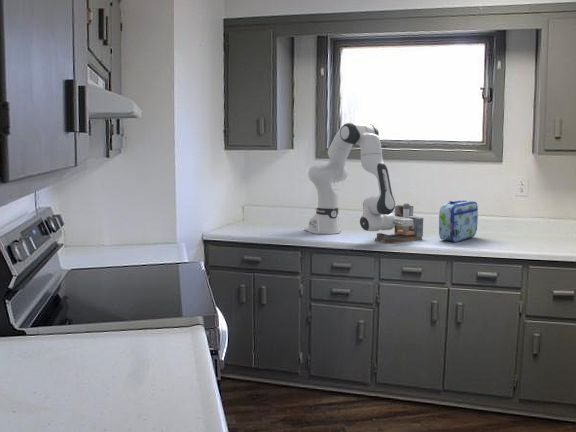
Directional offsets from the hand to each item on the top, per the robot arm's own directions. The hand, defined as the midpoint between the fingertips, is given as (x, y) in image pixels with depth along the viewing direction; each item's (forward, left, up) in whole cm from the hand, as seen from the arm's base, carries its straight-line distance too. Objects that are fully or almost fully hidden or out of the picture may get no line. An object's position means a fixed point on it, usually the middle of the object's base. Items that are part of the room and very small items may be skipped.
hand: (407, 219), depth 333 cm
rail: (0, -6, -11) cm, 12 cm away
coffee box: (-12, +9, -11) cm, 18 cm away
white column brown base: (0, -1, -8) cm, 8 cm away
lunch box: (+15, +23, -11) cm, 29 cm away
